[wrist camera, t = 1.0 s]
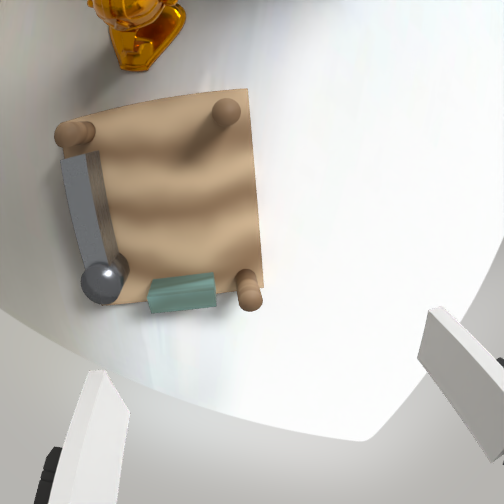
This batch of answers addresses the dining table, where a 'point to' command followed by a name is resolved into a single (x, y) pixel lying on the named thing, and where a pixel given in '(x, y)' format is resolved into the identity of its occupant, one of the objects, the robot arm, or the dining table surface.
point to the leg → (94, 228)
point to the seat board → (179, 196)
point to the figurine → (140, 29)
